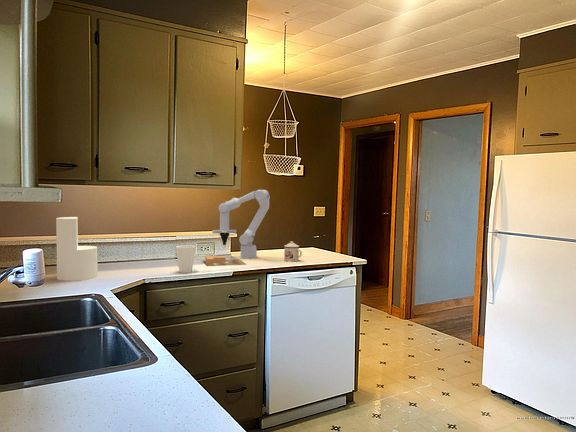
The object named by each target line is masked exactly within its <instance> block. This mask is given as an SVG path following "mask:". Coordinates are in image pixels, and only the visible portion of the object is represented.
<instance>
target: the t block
mask: <svg viewBox="0 0 576 432" xmlns="http://www.w3.org/2000/svg"><path fill="white" fill-rule="evenodd" d="M226 260H227V258H226V256H212V255H205V257H204V261H206V263H207V265H208V264H214V263H226Z"/></svg>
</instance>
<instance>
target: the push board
mask: <svg viewBox="0 0 576 432" xmlns="http://www.w3.org/2000/svg"><path fill="white" fill-rule="evenodd" d="M201 262H202V263H203V264H204V265H205V266H206V267H221V266H222V267H223V266H245V265H246V266H247V263H245V262H243V261H242V260H241V259H239V258H235V259H226V263H214V264H208V265H207V263H206V261H205V260H201Z"/></svg>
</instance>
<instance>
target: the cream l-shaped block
mask: <svg viewBox="0 0 576 432" xmlns="http://www.w3.org/2000/svg"><path fill="white" fill-rule="evenodd" d="M78 219H79V218H78V216H62V217H61V216H60V217H56V219H55V220H56V221H55V223H56V225H55V227H56V229H55V230H56V238H55V239H56V279H57V280H59V281H63V282H64V281H66V282H67V281H69V282H70V281H71V282H72V281H74V282H75V281H85V280H92V279H96V278H97V277H98V274H99V273H98V271H99V270H98V246H96V245H79V232H78V231H79V229H78V226H79V225H78V224H79V223H78V221H79V220H78Z"/></svg>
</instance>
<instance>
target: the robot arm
mask: <svg viewBox="0 0 576 432" xmlns="http://www.w3.org/2000/svg"><path fill="white" fill-rule="evenodd" d="M270 198H271V196H270V193H269V191H268V190H267V189H257V190H254V191H251V192H248V193H247V194H245V195H243V196H241V197H239V198H237V197H231V199H230V200H228V201H227V200H226V201H225V202H222V203H220V204H219V205H218V212H219V229H213V230H211V231H212V232H211V233H212V234H219V236H220V238H221V241H222V245H223V246H226V245H227V242H228V239H229V237H230V234H236V233H237V229H230V211H232V210H235V209H237V208H239V207H241V204H242V203H243V204H244V203H245V202H247V201H250V200H256V201H257V203H258V205H259V208H258V209H257V212H256V213H255V216H254V217H253V219H252V221H251V222H250V224H249V225H248V227H247V229H246V230H245V231H244V233H243V234H242V235H240V236H239V238H238V239H239V243H240V259H245V260H248V259H257V252H258V251H257V246H256V244H253V242H254V239H255V236H256V231H257V230H258V228H259V226H260V225H261V224H262V221H263V219H264V218H265V216H266V214H267V212H268V211H269V209H270Z"/></svg>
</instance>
